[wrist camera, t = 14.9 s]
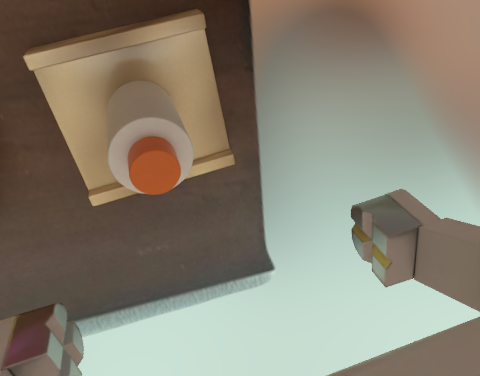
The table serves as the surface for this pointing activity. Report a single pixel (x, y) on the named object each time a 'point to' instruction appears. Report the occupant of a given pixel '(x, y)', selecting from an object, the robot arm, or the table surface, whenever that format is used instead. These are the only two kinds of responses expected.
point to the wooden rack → (124, 71)
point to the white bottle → (147, 139)
